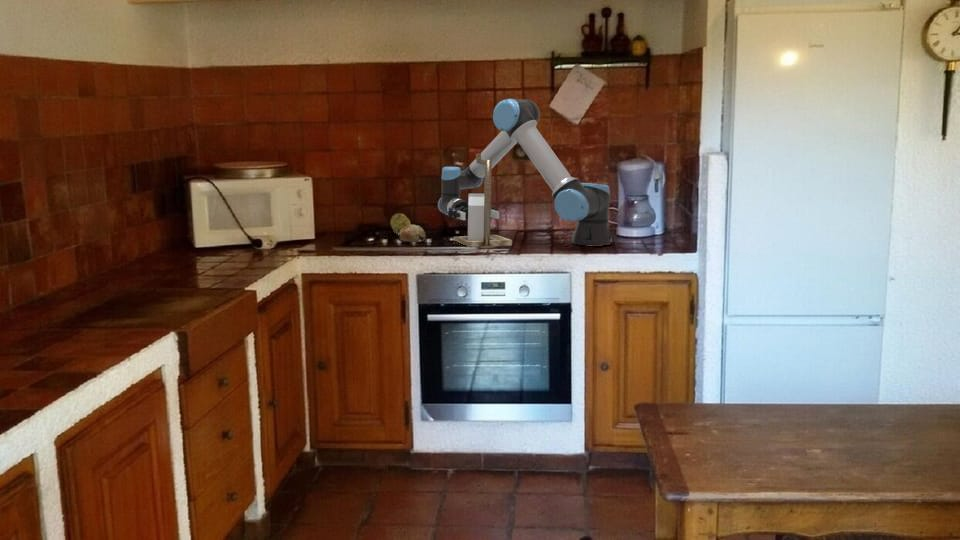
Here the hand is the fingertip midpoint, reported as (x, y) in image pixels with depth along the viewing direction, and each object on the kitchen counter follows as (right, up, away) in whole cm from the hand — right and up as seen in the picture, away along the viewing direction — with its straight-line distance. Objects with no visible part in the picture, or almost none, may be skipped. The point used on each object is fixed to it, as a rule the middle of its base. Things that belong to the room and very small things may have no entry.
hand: (481, 215), depth 342 cm
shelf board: (0, -10, +6) cm, 12 cm away
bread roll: (-27, -9, +11) cm, 30 cm away
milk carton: (-2, -11, +5) cm, 12 cm away
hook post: (0, -11, +1) cm, 11 cm away
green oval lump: (-32, -6, +25) cm, 41 cm away
